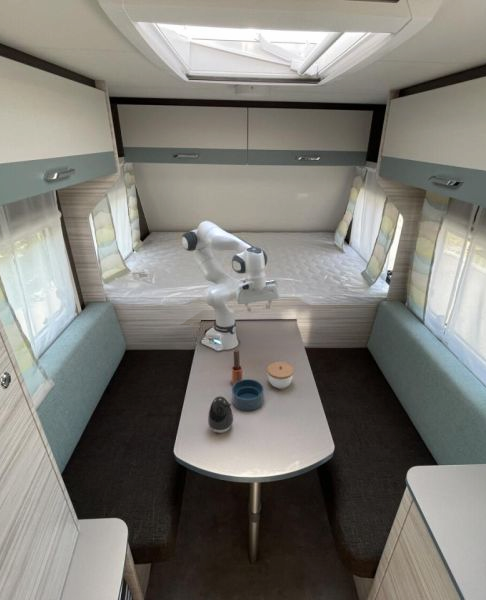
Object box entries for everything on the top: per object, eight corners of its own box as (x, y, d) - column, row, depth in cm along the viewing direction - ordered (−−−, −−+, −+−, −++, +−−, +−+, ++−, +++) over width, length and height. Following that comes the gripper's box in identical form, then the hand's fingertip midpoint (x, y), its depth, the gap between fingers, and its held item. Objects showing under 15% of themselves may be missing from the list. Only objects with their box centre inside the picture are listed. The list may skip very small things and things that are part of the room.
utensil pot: (230, 384, 160) (229, 369, 157) (235, 378, 164) (235, 363, 161) (239, 387, 158) (238, 372, 154) (244, 381, 162) (244, 366, 158)
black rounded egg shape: (223, 441, 128) (222, 410, 122) (203, 430, 133) (201, 400, 127) (238, 424, 136) (237, 395, 130) (218, 415, 141) (217, 386, 135)
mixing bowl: (226, 405, 146) (225, 393, 144) (242, 387, 158) (242, 375, 155) (254, 416, 140) (254, 403, 138) (268, 396, 152) (268, 384, 149)
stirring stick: (234, 382, 160) (233, 351, 153) (236, 380, 162) (235, 349, 155) (238, 383, 160) (237, 352, 152) (240, 381, 161) (239, 350, 154)
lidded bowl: (278, 373, 168) (279, 355, 164) (298, 384, 160) (299, 365, 156) (261, 384, 160) (262, 365, 156) (281, 396, 152) (281, 377, 148)
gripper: (276, 277, 157) (277, 304, 162) (234, 283, 153) (237, 310, 158) (279, 281, 151) (281, 308, 156) (236, 287, 148) (239, 315, 153)
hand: (258, 309), depth 157 cm, fingers open, 8 cm apart
